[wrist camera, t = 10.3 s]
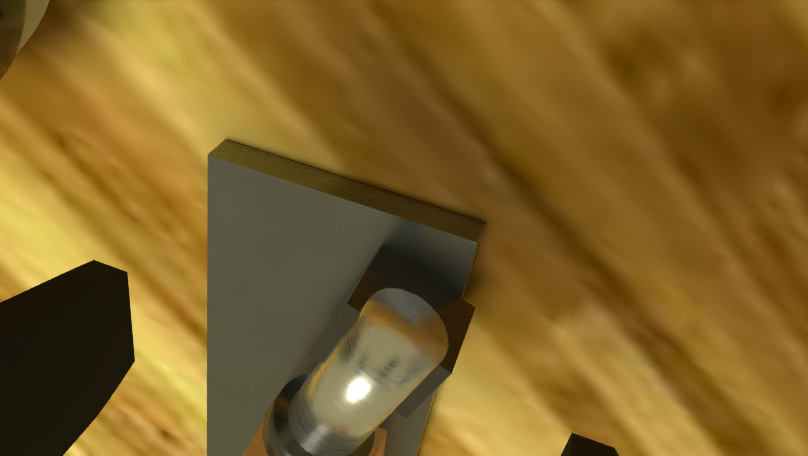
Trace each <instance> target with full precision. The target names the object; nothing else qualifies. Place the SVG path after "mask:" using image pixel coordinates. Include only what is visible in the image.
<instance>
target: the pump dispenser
mask: <svg viewBox="0 0 808 456" xmlns="http://www.w3.org/2000/svg"><path fill="white" fill-rule="evenodd" d="M49 1H50V0H0V80H1V79H2V78H3V76H4V75H5V74H6V72H7V71H8V69H9V67H10V66H11V64H12V62H13V60H14V58H15V56H16V54H17V53H18V52H19V51H20V49H21V48H22V47H23V46H24V45H25V43H26V42H27V41H28V39H29V38H30V37H31V35H32V34H33V33H34V31H35V30H36V28H37V26H38V24H39V23H40V21H41V19H42V17H43V15H44V14H45V11H46V9H47V6H48V4H49Z"/></svg>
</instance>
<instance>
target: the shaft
mask: <svg viewBox="0 0 808 456" xmlns="http://www.w3.org/2000/svg"><path fill="white" fill-rule="evenodd" d="M474 310H475V307H474V306H472V305H471V304H469V303H468V302H466V301H465V300H463V299H462V298H460V297H459V296H457V295H456V294H454V293H453V292H451V291H450V290H448V289H447V288H445V287H444V286H442V285H441V284H440V283H438V282H437V281H435V280H434V279H432V278H431V277H429V276H428V275H426V274H425V273H423V272H422V271H420V270H419V269H417V268H416V267H414V266H413V265H411V264H410V263H408V262H407V261H405V260H404V259H402V258H401V257H400V256H398V255H397V254H395V253H394V252H392V251H391V250H389V249H388V248H386V247H385V246H383V245H381V246H380V248H379V249H378V250H377V252H376V253H375V255H374V256H373V257H372V259H371V260H370V261H369V263H368V264H367V266H366V267H365V268H364V270H363V271H362V272H361V274H360V275H359V276H358V278H357V279H356V281H355V282H354V283H353V285H352V286H351V287H350V289H349V290H348V291H347V293H346V294H345V296H344V297H343V299H342V301H341V302H340V304H339V306H338V307H337V309H336V311H335V312H334V314H333V316H332V317H331V319H330V320H329V322H328V324H327V325H326V327H325V329H324V330H323V332H322V334H321V335H320V337H319V338H318V340H317V342H316V343H315V345H314V347H313V348H312V350H311V352H310V353H309V355H311V356H312V357H314V358H315V359H317V360H318V361H320V363H319V364H318V366H317V367H316V368H315V369H314V371H313V372H312V373H310V374H304V375H301V376H298V377H296V378H294V379H292V380H291V381H290V382H288V383H287V384H286V385H285V386H284V387H283V389H282V390H281V392H280V393H279V394H278V396H277V397H276V398H275V400H274V401H273V402H272V404H271V405H270V406H269V408H268V410H267V411H266V413H265V416H264V419H263V425H262V436H263V442H264V446H265V449H266V452H267V454H268V456H369V454H370V452H371V450H372V447H373V443H374V437H375V430H376V429H377V427H378V426H379V425H380V424H381V423H382V422H383V421H384V420H385V419H386V418H387V417H388V416H389V415H390V414H391V413H392V412H393V411H396V412H397V413H399V414H400V415H402V416H403V417H405V418H407V417H408V416H409V415H410V414H411V413H412V412H413V411H414V410H415V409H416V408H417V407H418V406H419V405H420V404H421V403H422V402H423V401H424V400H425V399H426V398H427V397H428V396H429V395H430V394H431V393H432V392H433V391H434V390H435V389H436V388H437V387H438V386H439V385H440V384H441V383H442V382H443V381H444V380H445V379H446V378H447V377H448V376H449V375H450V374H451V373H452V371H453V368H454V365H455V363H456V360H457V357H458V354H459V351H460V349H461V346H462V343H463V340H464V338H465V335H466V332H467V329H468V327H469V324H470V321H471V318H472V316H473V313H474Z"/></svg>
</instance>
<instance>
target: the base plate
mask: <svg viewBox="0 0 808 456" xmlns="http://www.w3.org/2000/svg"><path fill="white" fill-rule="evenodd" d="M484 225H485V223H484V222H481V221H478V220H475V219H472V218H469V217H466V216H462V215H459V214H456V213H453V212H450V211H447V210H444V209H441V208H438V207H434V206H431V205H428V204H425V203H422V202H419V201H416V200H413V199H410V198H406V197H403V196H400V195H397V194H394V193H391V192H388V191H385V190H382V189H378V188H375V187H372V186H369V185H366V184H363V183H360V182H357V181H354V180H350V179H347V178H344V177H341V176H338V175H335V174H332V173H329V172H325V171H322V170H319V169H316V168H313V167H310V166H307V165H304V164H301V163H297V162H294V161H291V160H288V159H285V158H282V157H279V156H276V155H273V154H269V153H266V152H263V151H260V150H257V149H254V148H251V147H248V146H245V145H241V144H238V143H235V142H232V141H229V140H226V139H225V140H224V141H223V142H222V143H221V144H219V145H218V146H217V147H216V148H215V149H214V150H212V151H211V152H210V153H209V154H208V269H207V456H242V455H243V453H244V452H245V450H246V449H247V447H248V445H249V444H250V442H251V440H252V439H253V437H254V436H255V434H256V432H257V431H258V429H259V428H260V426H261V424H262V423H263V419H264V416H265V413H266V411H267V410H268V408H269V406H270V405H271V404H272V402H273V401H274V400H275V398H276V397H277V396H278V394H279V393H280V392H281V390H282V389H283V387H284V386H285V385H286V384H287V383H288V382H290V381H291V380H292V379H294V378H296V377H298V376H301V375H304V374H310V373H312V372H313V371H314V369H315V368H316V367H317V366H318V364H319V363H320V361H318V360H317V359H315V358H314V357H312V356H311V355H309V353H310V352H311V350H312V348H313V347H314V345H315V343H316V342H317V340H318V338H319V337H320V335H321V334H322V332H323V330H324V329H325V327H326V325H327V324H328V322H329V320H330V319H331V317H332V316H333V314H334V312H335V311H336V309H337V307H338V306H339V304H340V302H341V301H342V299H343V297H344V296H345V294H346V293H347V291H348V290H349V289H350V287H351V286H352V285H353V283H354V282H355V281H356V279H357V278H358V276H359V275H360V274H361V272H362V271H363V270H364V268H365V267H366V266H367V264H368V263H369V261H370V260H371V259H372V257H373V256H374V255H375V253H376V252H377V250H378V249H379V248H380V246H381V245H383V246H385V247H386V248H388V249H389V250H391V251H392V252H394V253H395V254H397V255H398V256H400V257H401V258H402V259H404V260H405V261H407V262H408V263H410V264H411V265H413V266H414V267H416V268H417V269H419V270H420V271H422V272H423V273H425V274H426V275H428V276H429V277H431V278H432V279H434V280H435V281H437V282H438V283H440V284H441V285H442V286H444V287H445V288H447V289H448V290H450V291H451V292H453V293H454V294H456V295H457V296H459V297H460V298H462V299H463V298H464V294H465V291H466V287H467V284H468V280H469V277H470V274H471V270H472V267H473V263H474V260H475V256H476V253H477V250H478V246H479V243H480V239H481V236H482V232H483V229H484ZM436 391H437V388H436V389H435V390H434V391H433V392H432V393H431V394H430V395H429V396H428V397H427V398H426V399H425V400H424V401H423V402H422V403H421V404H420V405H419V406H418V407H417V408H416V409H415V410H414V411H413V412H412V413H411V414H410V415H409V416H408V417H407V418H405V417H403V416H402V415H400V414H399V413H397V412H396V411H393V412H392V413H391V414H390V415H389V416H388V417H387V418H386V419H385V420H384V421H383V422H382V423H381V424H380V425H379V426H378V427H379V428H382V429H385V430H387V435H386V442H385V449H384V456H418V453H419V449H420V446H421V442H422V439H423V435H424V432H425V429H426V425H427V422H428V418H429V415H430V411H431V408H432V404H433V401H434V398H435V394H436Z"/></svg>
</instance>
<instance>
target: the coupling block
mask: <svg viewBox="0 0 808 456" xmlns="http://www.w3.org/2000/svg"><path fill="white" fill-rule="evenodd" d="M262 425H263V423H262V424H261V426H260V428H259V429H258V431H257V432H256V434H255V436H254V437H253V439H252V440H251V442H250V444H249V445H248V447H247V449H246V450H245V452H244V453H243V455H242V456H268V454H267V452H266V449H265V446H264V442H263V436H262ZM386 435H387V430H385V429H382V428H379V427H377V429H376V430H375V437H374V443H373V447H372V450H371V452H370V454H369V456H384V449H385V442H386Z"/></svg>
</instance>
